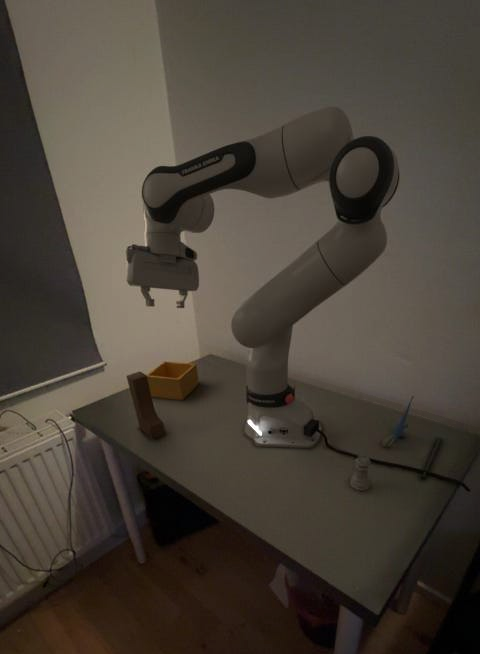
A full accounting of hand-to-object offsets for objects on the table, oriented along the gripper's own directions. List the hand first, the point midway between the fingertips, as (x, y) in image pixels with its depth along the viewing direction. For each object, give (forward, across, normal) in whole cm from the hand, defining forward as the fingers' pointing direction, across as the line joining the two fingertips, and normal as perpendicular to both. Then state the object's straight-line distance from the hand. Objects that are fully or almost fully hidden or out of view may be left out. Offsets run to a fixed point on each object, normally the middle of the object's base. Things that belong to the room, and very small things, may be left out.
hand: (166, 307), depth 92 cm
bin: (+28, +19, +25) cm, 42 cm away
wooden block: (+36, -1, +8) cm, 37 cm away
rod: (+36, +37, -60) cm, 79 cm away
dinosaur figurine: (+34, +39, -50) cm, 71 cm away
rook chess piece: (+40, +17, -50) cm, 67 cm away
